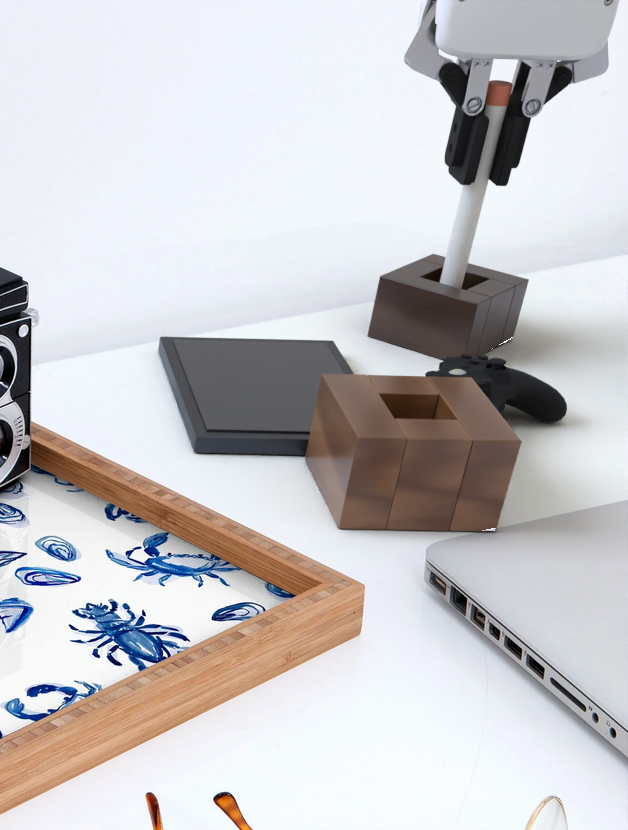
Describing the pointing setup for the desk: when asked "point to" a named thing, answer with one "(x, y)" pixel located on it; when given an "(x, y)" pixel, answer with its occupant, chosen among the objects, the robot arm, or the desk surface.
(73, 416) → the desk surface
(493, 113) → the stylus
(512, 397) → the game controller
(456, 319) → the back stand
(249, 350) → the tablet
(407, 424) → the front stand
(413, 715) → the desk surface
